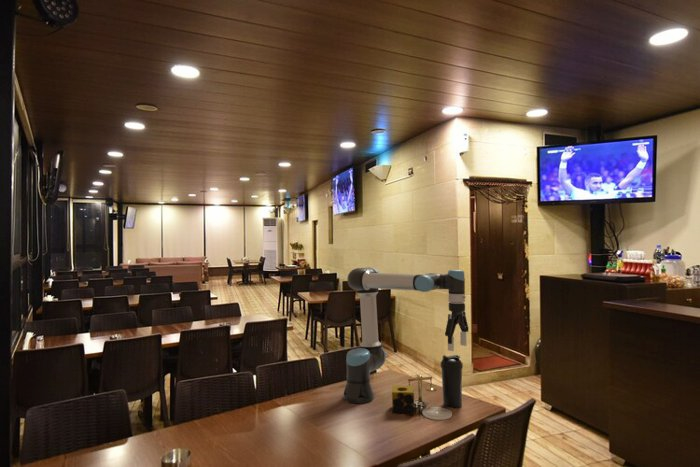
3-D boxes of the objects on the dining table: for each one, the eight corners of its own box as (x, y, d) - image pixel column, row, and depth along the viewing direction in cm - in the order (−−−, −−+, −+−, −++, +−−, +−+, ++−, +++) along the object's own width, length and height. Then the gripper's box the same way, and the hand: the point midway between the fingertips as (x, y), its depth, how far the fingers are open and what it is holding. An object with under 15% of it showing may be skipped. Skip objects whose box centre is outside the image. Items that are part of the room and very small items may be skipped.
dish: (418, 416, 184) (418, 413, 184) (428, 407, 195) (428, 404, 195) (446, 422, 177) (446, 419, 177) (455, 412, 188) (455, 409, 188)
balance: (402, 403, 200) (402, 374, 201) (406, 399, 205) (406, 371, 205) (434, 409, 192) (434, 378, 193) (438, 405, 196) (437, 376, 197)
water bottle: (466, 409, 192) (464, 358, 193) (443, 409, 192) (442, 358, 193) (460, 401, 202) (459, 353, 203) (439, 401, 202) (438, 353, 203)
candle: (414, 406, 195) (413, 385, 196) (415, 415, 185) (414, 392, 186) (392, 406, 196) (391, 384, 197) (392, 414, 186) (391, 391, 187)
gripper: (452, 305, 184) (453, 354, 184) (475, 300, 204) (475, 344, 203) (437, 304, 189) (437, 351, 188) (460, 299, 208) (461, 342, 208)
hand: (457, 348), depth 196 cm, fingers open, 13 cm apart
